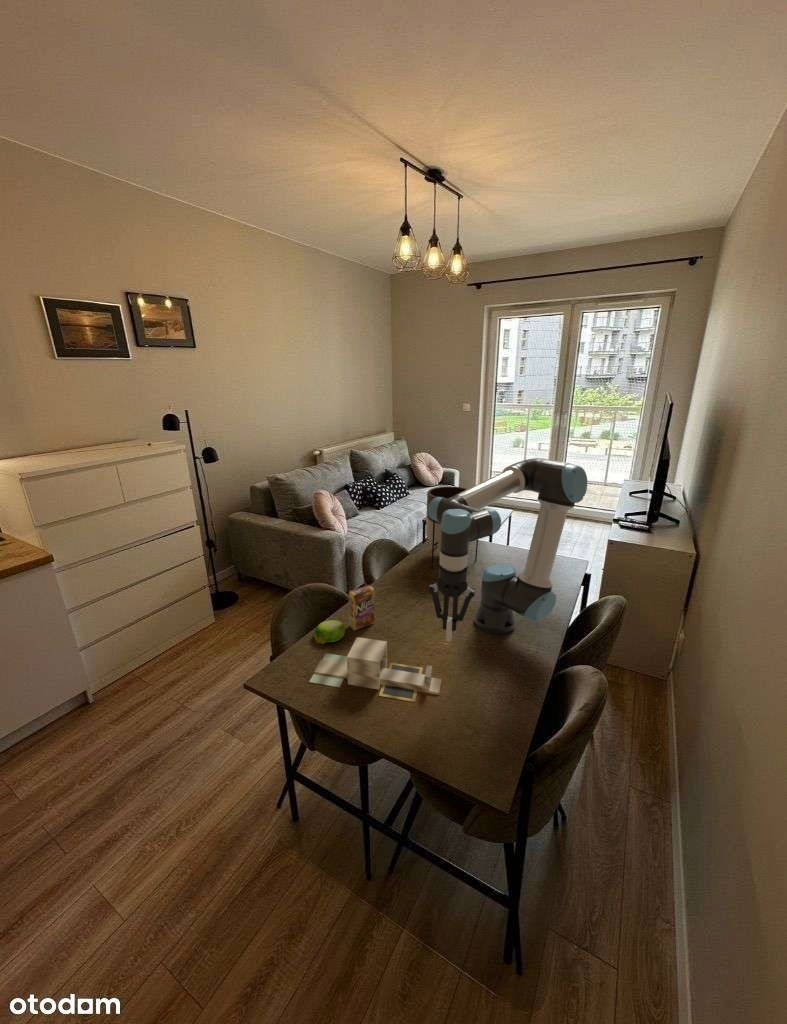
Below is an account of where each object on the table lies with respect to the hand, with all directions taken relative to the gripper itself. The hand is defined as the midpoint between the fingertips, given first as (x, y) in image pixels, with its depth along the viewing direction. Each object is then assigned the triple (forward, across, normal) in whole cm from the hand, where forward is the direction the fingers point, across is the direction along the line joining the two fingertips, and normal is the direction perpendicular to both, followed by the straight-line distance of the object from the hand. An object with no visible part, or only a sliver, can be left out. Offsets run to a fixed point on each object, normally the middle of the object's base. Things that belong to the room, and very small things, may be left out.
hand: (448, 638), depth 121 cm
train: (+17, +17, 0) cm, 24 cm away
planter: (+18, +9, -90) cm, 92 cm away
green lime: (+19, +44, -17) cm, 51 cm away
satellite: (+18, +22, 0) cm, 28 cm away
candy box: (+18, +35, -26) cm, 47 cm away
